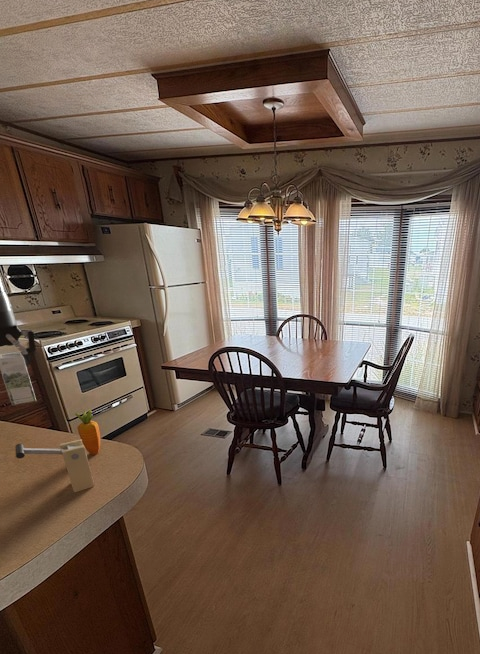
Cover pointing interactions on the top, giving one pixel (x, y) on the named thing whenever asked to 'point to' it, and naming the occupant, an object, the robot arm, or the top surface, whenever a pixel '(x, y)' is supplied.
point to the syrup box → (16, 378)
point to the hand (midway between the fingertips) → (12, 367)
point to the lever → (37, 450)
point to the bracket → (77, 465)
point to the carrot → (89, 433)
